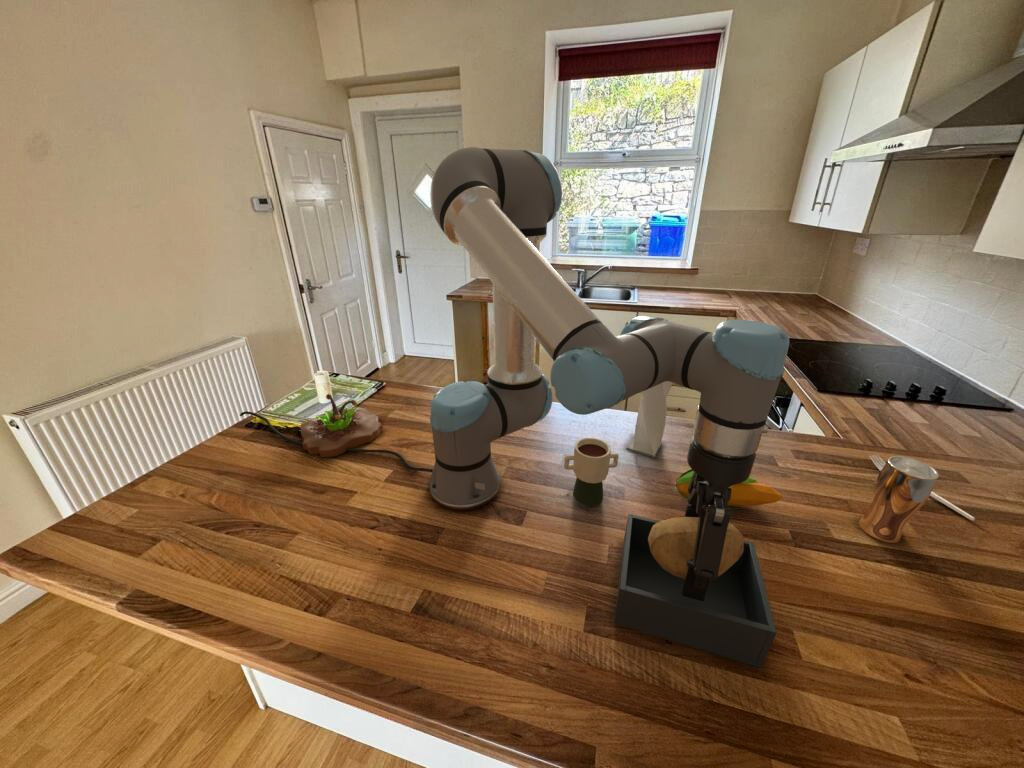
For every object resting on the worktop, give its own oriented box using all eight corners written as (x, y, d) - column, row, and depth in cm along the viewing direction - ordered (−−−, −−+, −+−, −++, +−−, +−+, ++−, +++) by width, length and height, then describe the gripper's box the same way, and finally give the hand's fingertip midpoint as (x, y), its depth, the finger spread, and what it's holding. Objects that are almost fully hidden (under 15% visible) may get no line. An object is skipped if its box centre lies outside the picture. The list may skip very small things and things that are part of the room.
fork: (966, 523, 78) (971, 516, 77) (864, 462, 95) (868, 455, 95) (979, 520, 78) (984, 513, 78) (876, 460, 96) (879, 453, 95)
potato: (754, 589, 57) (769, 549, 54) (659, 599, 56) (669, 559, 52) (715, 537, 66) (726, 499, 62) (633, 544, 65) (639, 506, 61)
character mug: (608, 486, 88) (614, 436, 82) (618, 509, 82) (625, 456, 76) (559, 488, 87) (562, 438, 82) (565, 511, 81) (568, 459, 75)
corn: (676, 457, 85) (779, 466, 81) (670, 484, 88) (768, 494, 85) (683, 481, 78) (795, 493, 75) (676, 509, 82) (782, 521, 79)
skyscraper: (667, 445, 102) (687, 341, 90) (659, 462, 96) (680, 352, 84) (634, 435, 106) (649, 335, 94) (624, 451, 100) (639, 345, 88)
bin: (613, 623, 60) (619, 588, 57) (623, 544, 73) (628, 513, 70) (761, 668, 54) (777, 633, 51) (742, 574, 68) (753, 541, 64)
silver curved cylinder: (892, 522, 78) (926, 459, 72) (911, 549, 72) (950, 483, 66) (849, 513, 80) (879, 451, 74) (864, 539, 74) (898, 474, 68)
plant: (361, 407, 120) (354, 373, 115) (392, 433, 107) (386, 396, 102) (289, 432, 108) (279, 395, 103) (315, 465, 95) (304, 424, 90)
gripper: (778, 510, 40) (727, 646, 50) (741, 406, 60) (710, 519, 69) (697, 493, 43) (664, 627, 52) (687, 399, 62) (664, 509, 71)
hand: (690, 565), depth 61 cm, fingers closed on potato, 10 cm apart
